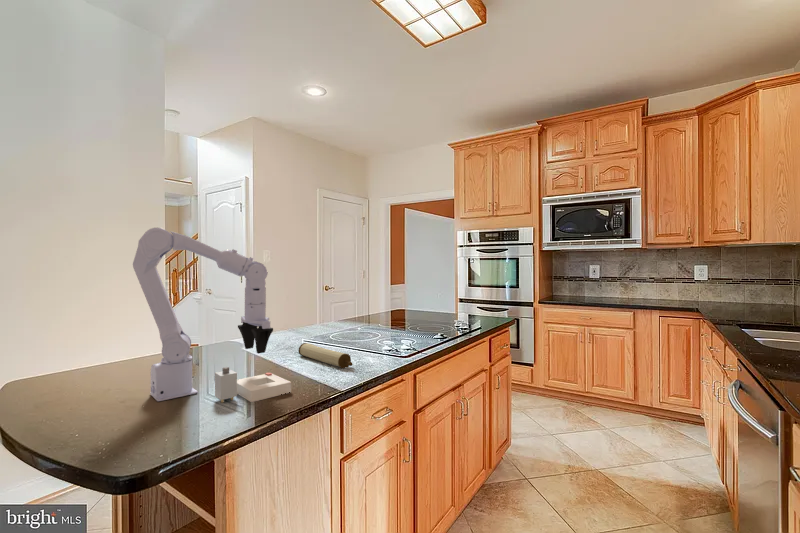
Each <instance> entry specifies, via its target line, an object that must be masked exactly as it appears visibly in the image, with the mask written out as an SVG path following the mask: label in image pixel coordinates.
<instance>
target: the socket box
mask: <svg viewBox="0 0 800 533" xmlns="http://www.w3.org/2000/svg"><path fill="white" fill-rule="evenodd" d="M289 392H290V393H292V381H290V380H287V379H286V378H283V377H281V376H278V375H276V374H275V373H272V372H265V373H263V374H258V375H254V376H253V375H252V376H248V377H244V378H239V379H238V378H237V396H240V397H242V398H244V399H246V400H247V401H248V402H250V403H255V402H258V401H262V400H265V399H266V400H267V399H270V398H274V397H278V396H281V394H282V395H285V393H286V394H290V393H289Z"/></svg>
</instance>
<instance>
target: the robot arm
mask: <svg viewBox="0 0 800 533" xmlns="http://www.w3.org/2000/svg"><path fill="white" fill-rule="evenodd" d="M136 248H137V249H136V251H135V255H134V259H133V261H132V267H133V271H134V272H135V275H136V277H137V280H138V282H139V284H140V288H141V289H142V292H143V294H144V297H145V299H146V302H147V304H148V307H149V309H150V312H151V314H152V316H153V319H154V321H155V323H156V326H157V329H158V332H159V338H160V341H161V345H162V347H161V355H162V358H161V361H160V362H158V363H157V362H156V363H153V364H151V368H150V392H149V395H151V397H153V398H154V399H155V401H156V402H163V401H166V400H167V401H168V400H171V399H177V398H181V397H185V396H189V395H190V396H191V395H195V394H198V392H199V391H198V390H196V389H195V388H194V387H193V356H192V355H190V349H191V346H192V340H191V337H190V336H189V335H187V333H185V332H184V330H183V327H182V326H181V324H180V323H179V321H178V319H177V316H176V313H175V311H174V308H173V306H172V303H171V301H170V298H169V296H168V293H167V291H166V289H165V287H164V283H163V281H162V279H161V276H160V273H159V271H158V269H157V266H158V265H159V263H160V262H161V261H162V258H163V257H164V256H165V255H166V254H167V253H169V252H170V251H171V250H172V251H189V252H191V253H194V254H197V255H199V256H202V257H205V258H206V259H209V260H212V261H213V262H214V261H215V262H216V264H217V267H218V269H221V270H224V271H226V272H228V273H230V274H233V275H236V276H238V277H244V278H245V287H244V315H242V316H240V317H241V318H240V322H241V323H242V324H238V325H237V329H238V331H239V332H240V334H241V337H242V341H243V345H244V349H246V350H250V349H253V348H254V345H255V351H256V354H264V353H265V352H266V350H267V345H268V342H269V339H270V337H271V335H272V333H273V332H274V328H273V327H271V321H270V317H268V316H266V315H267V314H266V312H267V288H266V285H267V284H266V279H267V277H268V275H269V274H268V272H269V271H268V269H267V267H266V266H265V265H264V264H263V263H261V262H259V261H255V260H254V257H251V256H250V257H247V256H245V255H242V254H240V253H238V250H236V249H234V248H233V249H224V250H222V251H221V250H219V249H216V248H214V247H213V246H210V245H208V244H205V243H203V242H201V241H199V240H196V239H194V238H192V237H190V236H188V235H185V234H181V233H178V232H175V231H171V230H169V231H168V230H166V229H165V228H163V227H152V228H149V229H147V230H146V231H145V232H144V234H143V235H142V236H140V238H139V239H138V243H137V247H136Z"/></svg>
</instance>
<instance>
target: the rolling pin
mask: <svg viewBox="0 0 800 533" xmlns="http://www.w3.org/2000/svg"><path fill="white" fill-rule="evenodd" d="M298 354H299V355H300V356H301V355H303V356H302V357H306V358H310V359H312V360H315V361H319V362H322V363H325V364H328V365H332V366H335V367H339V368H340V369H342V368H343V369H346V368H345V367H351V366H353V362H352V358H351V355H350V354H348V353H345V352H341V351H336V350H332V349H328V348H324V347H320V346H317V345H315V344H312V343H307V342H304V343H301V345H299V347H298Z"/></svg>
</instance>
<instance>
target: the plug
mask: <svg viewBox="0 0 800 533" xmlns="http://www.w3.org/2000/svg"><path fill="white" fill-rule="evenodd" d="M237 380H238V372H236V371H234V370H232V369H230V366H229V367H227V366H226V367H222V371H216V372H214V397H216V398H217V399H218V400H220V403H222V404H223V403H224V402H225V400H227V399H230V401H234V399H235V398H236V397H237V396H238V394H237Z"/></svg>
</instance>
